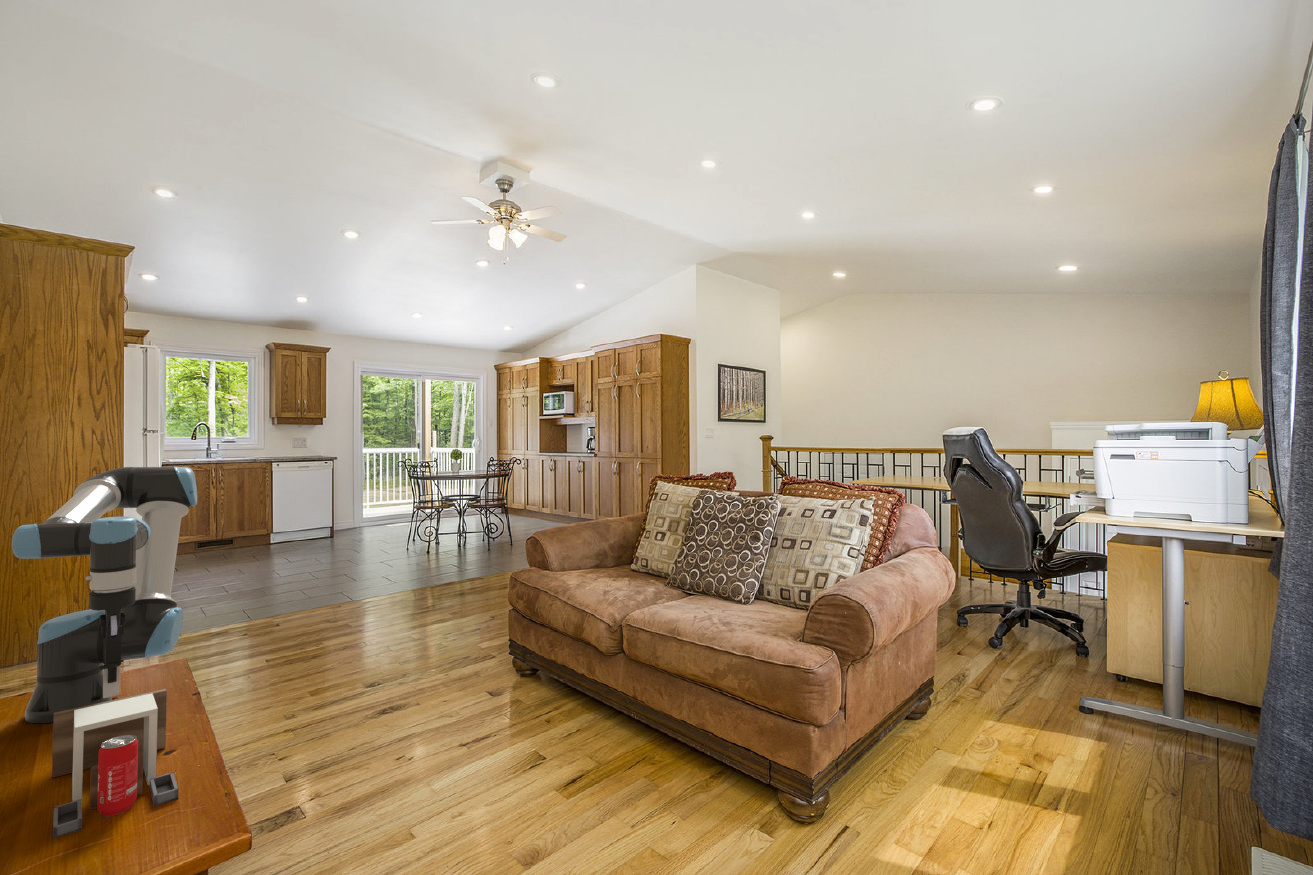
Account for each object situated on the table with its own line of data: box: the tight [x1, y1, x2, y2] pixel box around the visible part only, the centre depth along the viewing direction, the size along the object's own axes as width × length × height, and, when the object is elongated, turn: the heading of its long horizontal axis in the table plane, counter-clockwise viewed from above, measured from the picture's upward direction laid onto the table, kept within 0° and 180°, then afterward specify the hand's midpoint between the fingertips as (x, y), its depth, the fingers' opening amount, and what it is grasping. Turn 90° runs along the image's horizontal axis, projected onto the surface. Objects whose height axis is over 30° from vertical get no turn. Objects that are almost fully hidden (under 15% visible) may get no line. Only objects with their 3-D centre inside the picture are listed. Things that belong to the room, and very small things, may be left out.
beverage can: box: [96, 735, 138, 818], centre depth 105 cm, size 5×5×12 cm
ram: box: [51, 688, 168, 810], centre depth 114 cm, size 20×17×12 cm
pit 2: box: [149, 771, 179, 807], centre depth 110 cm, size 8×3×2 cm, turn 45°
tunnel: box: [71, 693, 158, 804], centre depth 113 cm, size 10×11×14 cm
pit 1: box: [52, 799, 83, 840], centre depth 101 cm, size 8×3×2 cm, turn 45°
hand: (111, 695), depth 130 cm, fingers closed
